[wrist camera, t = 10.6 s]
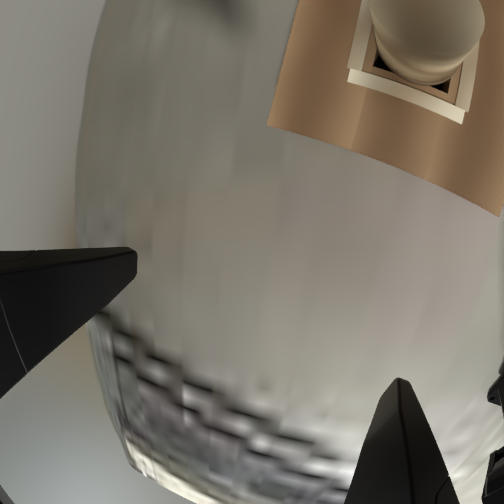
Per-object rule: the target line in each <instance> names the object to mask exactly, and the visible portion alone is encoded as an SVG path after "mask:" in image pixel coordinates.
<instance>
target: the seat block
mask: <svg viewBox="0 0 504 504" xmlns="http://www.w3.org/2000/svg"><path fill="white" fill-rule="evenodd" d="M479 2H480V4H481V6H482V9H483V12H484V17H485V25H484V31H483V34H482V36H481V37H480V39H479V40H478V42H477V43H476V44H475V46H474V47H473V48H472V50H471V51H470V52H469V54H468V55H467V56H466V58H465V59H464V60H463V62H462V63H461V64H460V66H459V67H458V69H457V71H456V72H455V74H454V75H453V76H452V77H451V78H450V79H449V80H447V81H446V82H444V83H443V87H442V91H440V90H438V89H435V88H433V87H431V86H424V85H417V84H414V83H411V82H408V81H406V80H404V79H402V78H400V77H399V76H397V75H396V74H395V73H393V72H389V71H386V70H383V69H380V68H378V67H379V62H380V58H381V57H380V55H379V53H378V50H377V47H376V42H375V31H374V26H373V21H372V16H371V12H370V7H369V3H368V0H299V2H298V6H297V10H296V14H295V17H294V21H293V25H292V29H291V32H290V36H289V40H288V44H287V48H286V52H285V55H284V59H283V63H282V67H281V71H280V75H279V79H278V83H277V87H276V91H275V95H274V99H273V103H272V107H271V111H270V115H269V119H268V123H267V126H271V127H275V128H279V129H283V130H287V131H290V132H294V133H297V134H301V135H304V136H308V137H311V138H315V139H318V140H321V141H324V142H327V143H331V144H334V145H337V146H340V147H343V148H346V149H349V150H352V151H354V152H357V153H360V154H363V155H366V156H368V157H371V158H374V159H376V160H379V161H382V162H384V163H387V164H389V165H392V166H394V167H397V168H399V169H402V170H404V171H406V172H409V173H411V174H414V175H416V176H418V177H420V178H423V179H425V180H427V181H429V182H432V183H434V184H436V185H438V186H440V187H442V188H444V189H447V190H449V191H451V192H453V193H455V194H457V195H459V196H461V197H463V198H465V199H467V200H469V201H470V202H472V203H474V204H476V205H478V206H480V207H482V208H484V209H485V210H487V211H489V212H491V213H492V214H494V215H496V216H498V217H499V216H500V213H501V210H502V207H503V205H504V0H479Z"/></svg>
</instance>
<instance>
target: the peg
mask: <svg viewBox="0 0 504 504" xmlns="http://www.w3.org/2000/svg"><path fill="white" fill-rule="evenodd" d="M368 3H369V7H370V12H371V16H372V21H373V26H374V31H375V42H376V47H377V50H378V53H379V55H380V57H381V59H382V60H383V62H384V63H385V64H386V66H387V67H388V68H389V69H390V70H391V71H392V72H394V73H395V74H396V75H397V76H399V77H400V78H402V79H404V80H406V81H408V82H411V83H414V84H417V85H424V86H433V85H438V84H441V83H444V82H446V81H447V80H449V79H450V78H451V77H452V76H453V75H454V74H455V72H456V71H457V69H458V67H459V66H460V64H461V63H462V62H463V60H464V59H465V58H466V56H467V55H468V54H469V52H470V51H471V50H472V48H473V47H474V46H475V44H476V43H477V42H478V40H479V39H480V37H481V36H482V34H483V31H484V25H485V17H484V12H483V9H482V6H481V4H480V2H479V0H368Z"/></svg>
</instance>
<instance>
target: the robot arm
mask: <svg viewBox="0 0 504 504" xmlns="http://www.w3.org/2000/svg"><path fill="white" fill-rule="evenodd" d="M137 257H138V256H137V252H136V251H134V250H133V249H131V248H129V247H108V248H80V249H54V250H37V251H35V250H30V251H0V399H1V398H2V397H3V396H4V395H5V394H6V393H7V392H8V391H9V390H10V389H11V388H12V387H13V386H14V385H16V383H18V382H19V381H20V380H21V379H22V378H23V377H24V376H25V375H26V374H27V373H28V372H29V371H30V370H32V369H33V368H34V367H35V366H36V365H37V364H38V363H40V362H41V361H42V360H43V359H44V358H45V357H46V356H47V355H49V354H50V353H51V352H52V351H53V350H54V349H55V348H57V347H58V346H59V345H60V344H61V343H62V342H64V341H65V340H66V339H67V338H68V337H69V336H70V335H72V334H73V333H74V332H75V331H76V330H78V329H79V328H80V327H81V326H82V325H84V324H85V323H86V322H87V321H88V320H90V319H91V318H92V317H93V316H94V315H96V314H97V313H98V312H99V311H101V310H102V309H103V308H104V307H105V306H106V305H108V304H109V303H110V302H111V301H112V300H113V299H114V298H115V297H116V296H117V295H118V294H119V293H120V292H121V291H122V290H123V289H124V288H125V287H126V286H127V285H128V284H129V283H130V282H131V281H132V280H133V279H134V278H135V276H136V274H137ZM492 396H493V397H492ZM487 399H488V402H491V403H494V404H497V405H500V406H501V407H502V412H503V417H504V376H503V378H502V379H501V380H500V381H499V382H498V384H497V385H496V386H495V387H494V388H493V389H492V390H491V392H490V393H489V394H488V395H487ZM448 475H449V474H448V471H447V468H446V465H445V463H444V460H443V458H442V455H441V453H440V450H439V448H438V445H437V443H436V440H435V438H434V435H433V433H432V431H431V428H430V426H429V424H428V421H427V419H426V417H425V414H424V412H423V410H422V408H421V405H420V403H419V401H418V399H417V397H416V395H415V392H414V390H413V388H412V386H411V384H410V382H409V381H407V380H404V379H402V378H396V379H395V380H394V381H393V382H392V383H391V385H390V386H389V387H388V388H387V390H386V391H385V392H384V393H383V395H382V396H381V398H380V400H379V402H378V405H377V408H376V411H375V414H374V417H373V419H372V422H371V425H370V427H369V430H368V433H367V435H366V438H365V440H364V443H363V446H362V449H361V453H360V456H359V459H358V463H357V466H356V469H355V473H354V476H353V479H352V482H351V485H350V488H349V491H348V493H347V496H346V499H345V502H344V504H460V503H459V501H458V498H457V495H456V492H455V490H454V487H453V484H452V482H451V479H450V477H449V476H448ZM482 502H483V504H504V446H503V447H502V448H500V449H499V450H496V451H494V452H493V453H491V454H490V459H489V465H488V470H487V475H486V480H485V484H484V488H483V494H482ZM0 504H14V503H13V501H12V500H11V499H10V498H9V496H8V495H7V494H6V492H5V491H4V490H3V488H2V487H1V485H0Z"/></svg>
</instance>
